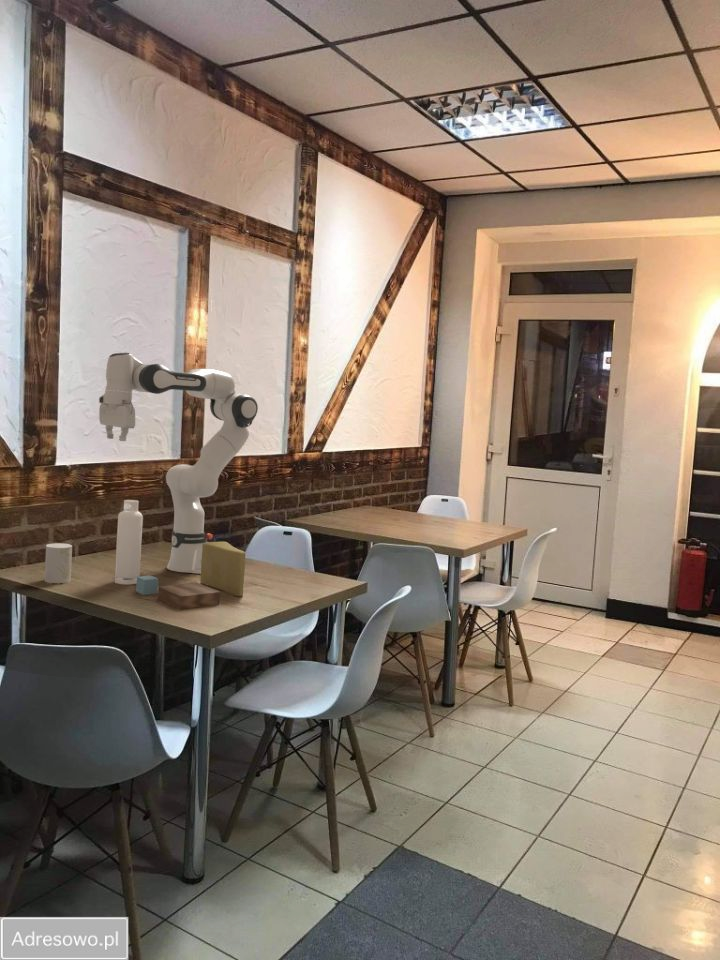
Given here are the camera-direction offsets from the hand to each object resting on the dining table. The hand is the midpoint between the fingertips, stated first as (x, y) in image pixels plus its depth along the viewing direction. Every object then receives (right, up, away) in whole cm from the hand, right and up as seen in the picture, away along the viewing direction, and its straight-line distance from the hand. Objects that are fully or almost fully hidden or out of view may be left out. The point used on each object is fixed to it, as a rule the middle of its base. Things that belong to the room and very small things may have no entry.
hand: (116, 439), depth 274 cm
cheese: (+38, -52, -1) cm, 64 cm away
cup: (-17, -48, -8) cm, 51 cm away
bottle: (+4, -49, -2) cm, 49 cm away
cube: (+14, -51, -14) cm, 55 cm away
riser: (+30, -53, -22) cm, 64 cm away
